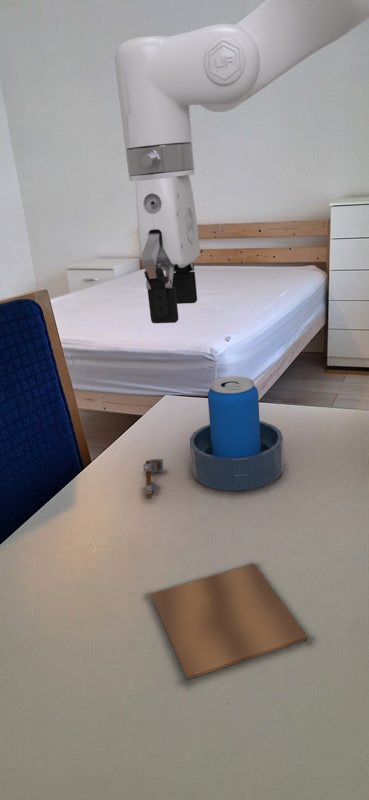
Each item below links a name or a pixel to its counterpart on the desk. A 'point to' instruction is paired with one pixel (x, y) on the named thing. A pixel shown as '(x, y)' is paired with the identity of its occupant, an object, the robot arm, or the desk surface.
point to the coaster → (225, 620)
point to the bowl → (237, 461)
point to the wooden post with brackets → (149, 467)
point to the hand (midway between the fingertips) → (175, 312)
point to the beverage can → (234, 417)
